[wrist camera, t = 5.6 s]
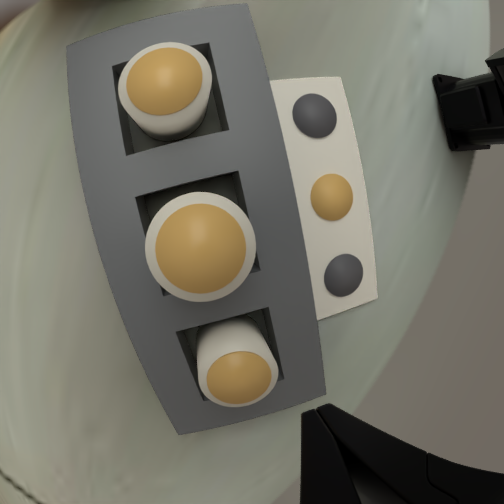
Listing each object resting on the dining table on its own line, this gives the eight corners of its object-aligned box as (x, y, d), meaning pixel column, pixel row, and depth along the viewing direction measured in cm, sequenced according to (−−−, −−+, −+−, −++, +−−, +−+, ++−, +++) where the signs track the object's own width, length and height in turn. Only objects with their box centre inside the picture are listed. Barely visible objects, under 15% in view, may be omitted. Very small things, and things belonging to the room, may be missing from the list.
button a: (199, 67, 14) (203, 32, 10) (213, 131, 15) (220, 111, 11) (130, 84, 13) (112, 54, 9) (141, 149, 14) (124, 135, 10)
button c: (253, 303, 17) (271, 335, 13) (266, 357, 18) (285, 396, 14) (187, 320, 17) (187, 358, 13) (206, 373, 18) (212, 416, 14)
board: (239, 24, 14) (247, 3, 12) (312, 374, 20) (326, 394, 17) (80, 62, 13) (66, 46, 10) (178, 411, 18) (178, 435, 16)
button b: (229, 183, 14) (243, 180, 10) (247, 261, 15) (267, 287, 11) (148, 203, 14) (131, 209, 9) (170, 281, 14) (163, 315, 10)
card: (338, 78, 16) (341, 76, 15) (375, 296, 19) (378, 298, 19) (264, 83, 15) (265, 80, 15) (311, 319, 19) (314, 322, 18)
